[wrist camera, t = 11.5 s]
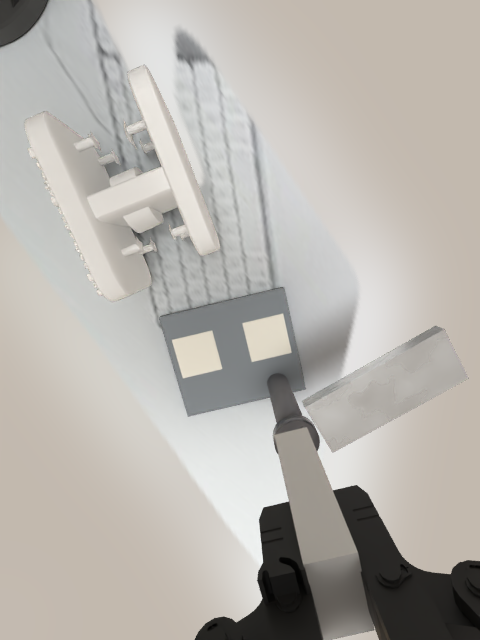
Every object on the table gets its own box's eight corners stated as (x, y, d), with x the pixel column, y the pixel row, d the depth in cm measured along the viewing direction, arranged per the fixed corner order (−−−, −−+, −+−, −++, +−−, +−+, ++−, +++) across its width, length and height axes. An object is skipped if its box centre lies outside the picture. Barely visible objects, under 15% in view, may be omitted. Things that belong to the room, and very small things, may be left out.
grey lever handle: (435, 325, 28) (444, 329, 26) (459, 373, 28) (469, 378, 27) (261, 423, 29) (263, 431, 28) (289, 466, 30) (291, 475, 29)
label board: (160, 316, 39) (130, 345, 28) (282, 286, 39) (304, 304, 27) (189, 412, 42) (171, 477, 30) (304, 385, 42) (332, 440, 30)
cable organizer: (226, 256, 38) (223, 260, 27) (137, 290, 39) (97, 309, 28) (171, 114, 35) (142, 51, 24) (76, 154, 36) (3, 111, 25)
